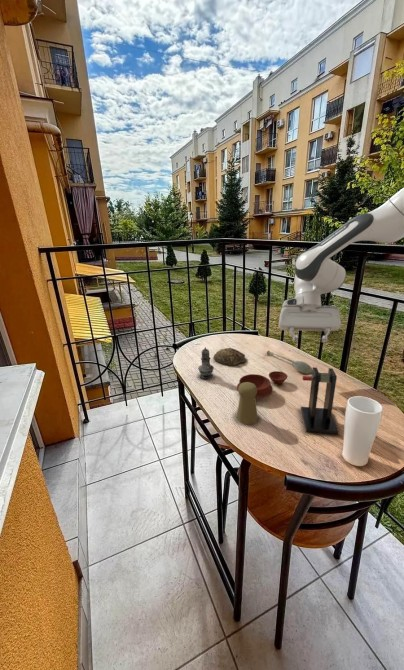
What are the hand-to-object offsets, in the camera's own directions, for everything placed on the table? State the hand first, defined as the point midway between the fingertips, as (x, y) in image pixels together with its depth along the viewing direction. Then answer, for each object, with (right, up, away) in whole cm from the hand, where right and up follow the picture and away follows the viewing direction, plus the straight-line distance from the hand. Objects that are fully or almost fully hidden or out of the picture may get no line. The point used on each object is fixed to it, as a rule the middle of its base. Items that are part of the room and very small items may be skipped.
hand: (309, 341), depth 94 cm
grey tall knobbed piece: (-35, -14, +11) cm, 39 cm away
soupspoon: (-2, -9, +19) cm, 21 cm away
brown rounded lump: (-24, -8, +24) cm, 35 cm away
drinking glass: (-1, -27, -29) cm, 40 cm away
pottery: (-15, -17, +1) cm, 23 cm away
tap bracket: (-4, -22, -16) cm, 28 cm away
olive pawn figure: (-23, -22, -13) cm, 35 cm away
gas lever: (-3, -11, -14) cm, 19 cm away
